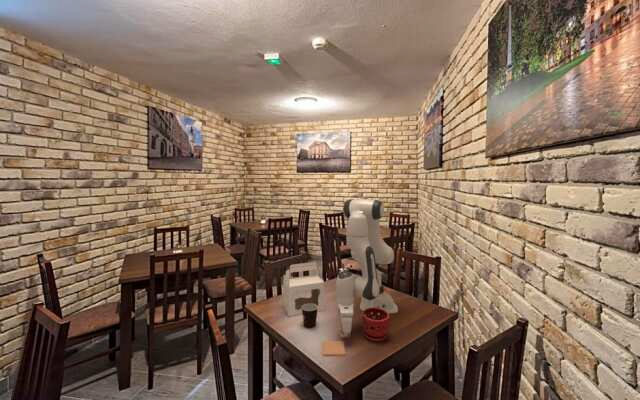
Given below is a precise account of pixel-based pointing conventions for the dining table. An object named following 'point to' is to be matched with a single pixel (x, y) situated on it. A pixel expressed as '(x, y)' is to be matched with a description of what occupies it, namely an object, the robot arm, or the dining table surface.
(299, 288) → the gable box
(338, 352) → the plate
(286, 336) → the dining table surface
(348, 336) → the beech cube
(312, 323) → the coffee mug
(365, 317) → the plant pot
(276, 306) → the dining table surface
